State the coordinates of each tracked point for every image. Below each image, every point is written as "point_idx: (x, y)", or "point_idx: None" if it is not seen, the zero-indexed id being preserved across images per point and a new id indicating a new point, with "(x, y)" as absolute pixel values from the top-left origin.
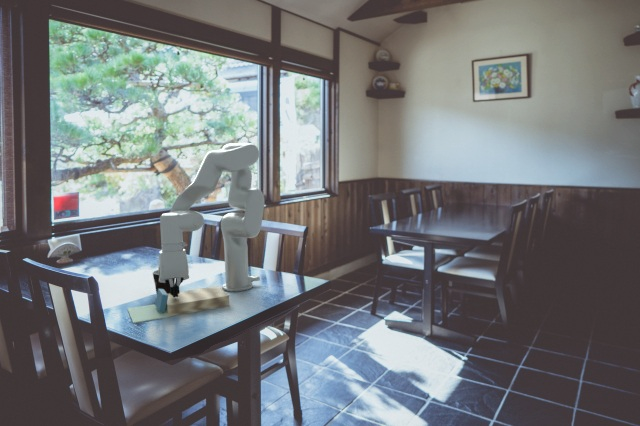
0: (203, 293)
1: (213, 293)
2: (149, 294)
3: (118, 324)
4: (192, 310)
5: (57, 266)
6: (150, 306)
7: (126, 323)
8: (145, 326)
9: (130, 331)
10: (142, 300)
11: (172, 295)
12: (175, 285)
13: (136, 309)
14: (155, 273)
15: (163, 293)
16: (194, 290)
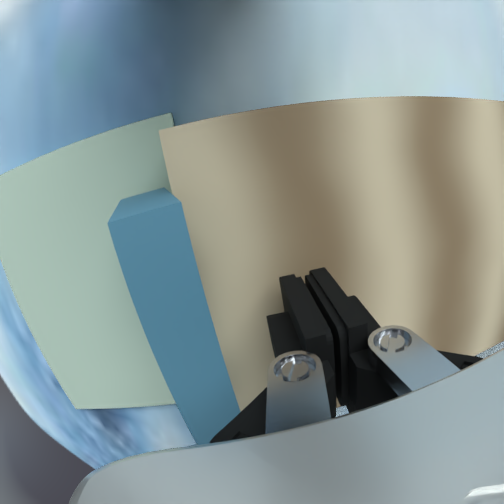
0: (498, 236)
1: None
2: None
3: (23, 387)
4: None
5: None
6: (94, 176)
7: (48, 391)
8: (141, 444)
9: (101, 458)
10: (51, 8)
11: (282, 296)
12: (350, 386)
13: (22, 220)
14: None
15: (199, 405)
16: (467, 122)
